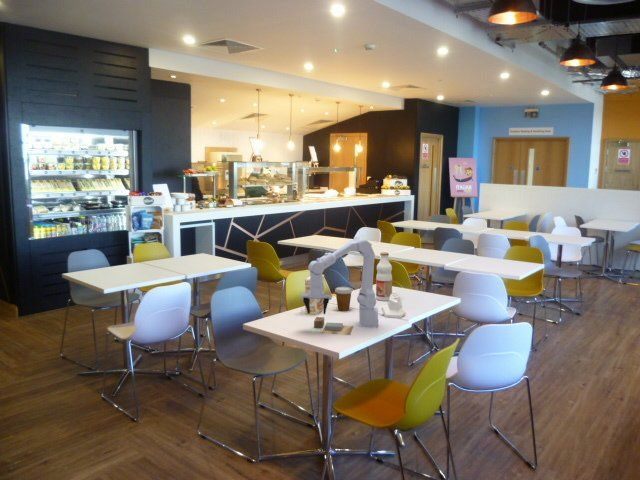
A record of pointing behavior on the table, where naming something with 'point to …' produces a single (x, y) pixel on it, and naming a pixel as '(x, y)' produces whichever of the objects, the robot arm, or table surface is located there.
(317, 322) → the block
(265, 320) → the table surface
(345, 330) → the mat
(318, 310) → the coffeecake box
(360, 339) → the table surface
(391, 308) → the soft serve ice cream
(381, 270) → the fruit juice
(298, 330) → the table surface
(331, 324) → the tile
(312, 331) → the block
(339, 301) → the disposable coffee cup
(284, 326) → the table surface
